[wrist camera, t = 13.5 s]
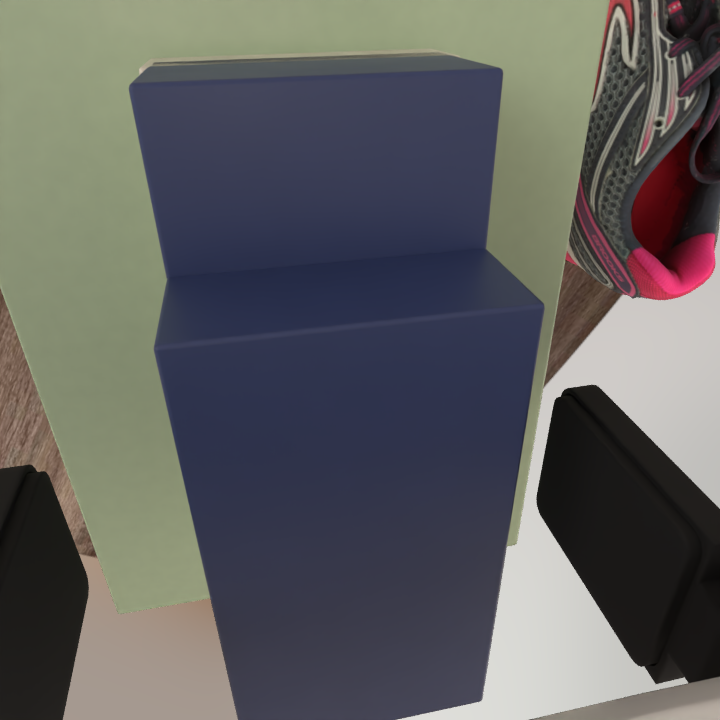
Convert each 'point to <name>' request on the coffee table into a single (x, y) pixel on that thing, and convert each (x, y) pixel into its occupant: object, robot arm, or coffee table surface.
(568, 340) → the coffee table surface
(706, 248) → the running shoe
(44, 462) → the coffee table surface
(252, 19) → the pale green boxy piece
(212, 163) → the navy stepped block
